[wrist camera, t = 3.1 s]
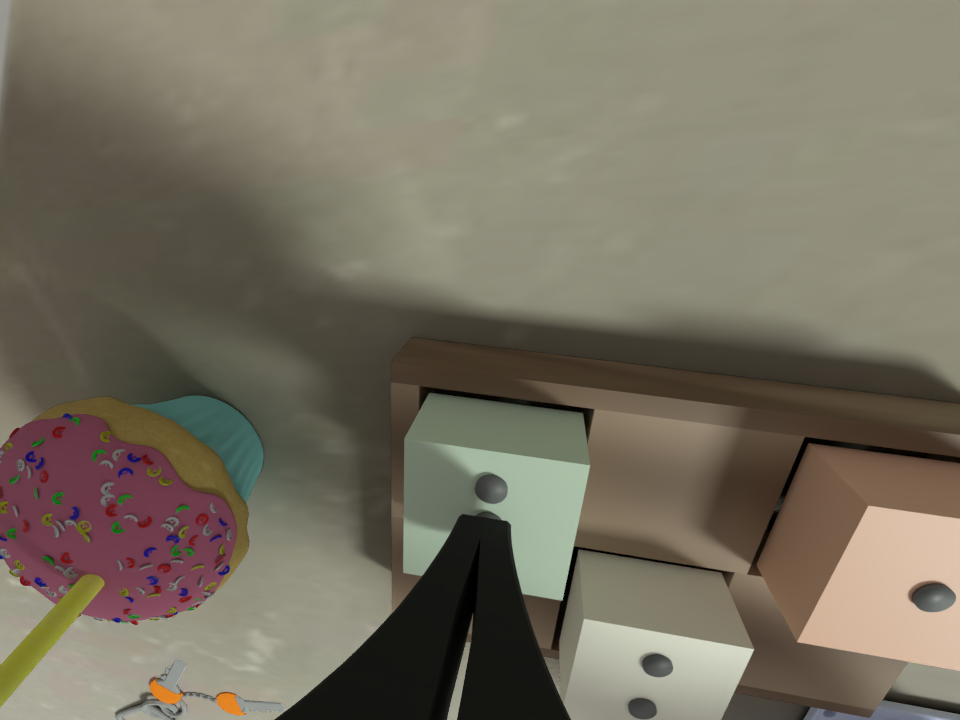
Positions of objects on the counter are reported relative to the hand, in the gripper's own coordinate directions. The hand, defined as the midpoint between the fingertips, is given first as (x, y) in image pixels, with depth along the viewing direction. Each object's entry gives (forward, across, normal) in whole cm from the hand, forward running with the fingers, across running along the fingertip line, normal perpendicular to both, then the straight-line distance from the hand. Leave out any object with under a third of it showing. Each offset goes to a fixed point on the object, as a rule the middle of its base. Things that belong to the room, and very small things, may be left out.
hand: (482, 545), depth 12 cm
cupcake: (+6, +13, +3) cm, 14 cm away
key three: (+4, 0, 0) cm, 4 cm away
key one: (+4, -12, 0) cm, 12 cm away
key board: (+6, -6, +3) cm, 9 cm away
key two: (+4, -6, +6) cm, 9 cm away
